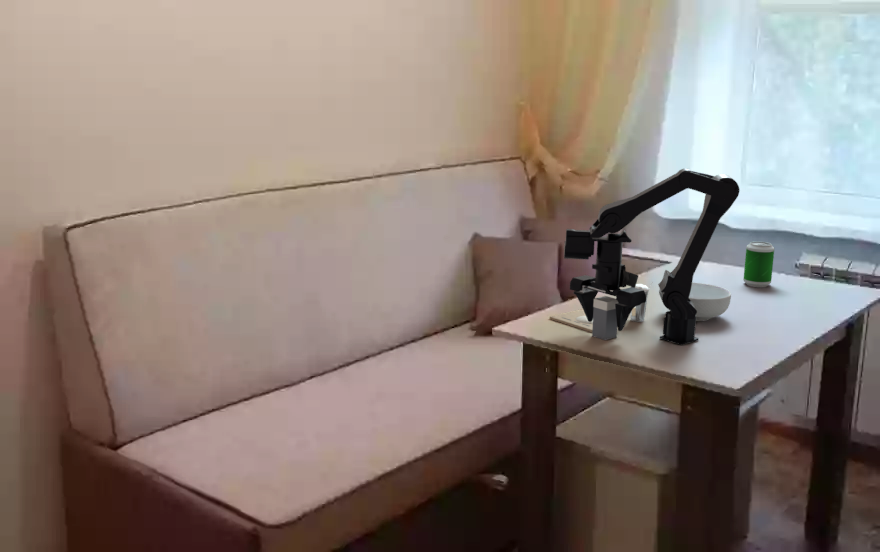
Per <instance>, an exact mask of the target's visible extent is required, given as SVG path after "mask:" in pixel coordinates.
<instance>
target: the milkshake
mask: <svg viewBox="0 0 880 552" xmlns="http://www.w3.org/2000/svg"><path fill="white" fill-rule="evenodd" d="M653 282H654V281H651V284H650V286H649V287H648V286H647V285H646V284H643V283H636V286H635V288H637V289H641V290H644V291H645V293H646V302H645V303H641V304H640V305H638V306H635V307H634V308H633V309H632V311H631V313H630V315H629V316H630V317H629V318H630V321H632V322H635V323H641V322H642V323H643V322H644V321H645V317H646V309H647V304H648V303H647V302H648V297H649V290H650V288H651V286H652V284H653ZM629 288H631V286H629Z"/></svg>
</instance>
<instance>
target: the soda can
mask: <svg viewBox="0 0 880 552" xmlns="http://www.w3.org/2000/svg"><path fill="white" fill-rule="evenodd" d="M774 255H775V247H774V246H773V245H772V243H771V242H766V241H750V242H749V244H747V245H746V248H745V259H744V260H745V261H744V270H743V280H742V281H743V282H744V283H745V284H746V286H748V287H752V288H766V287H768V286H769V285H770V284H771V283H772V277H773V267H774V259H775V257H774Z"/></svg>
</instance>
